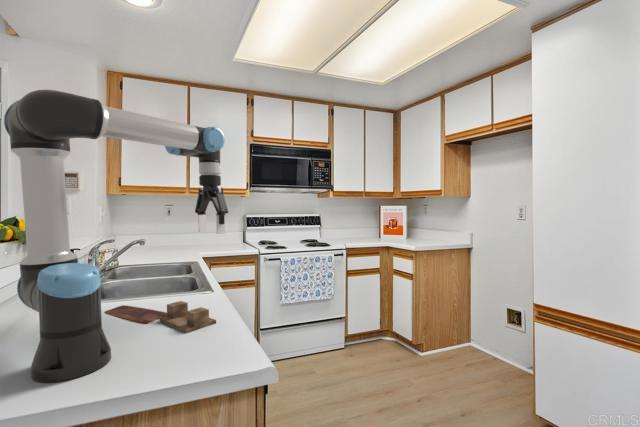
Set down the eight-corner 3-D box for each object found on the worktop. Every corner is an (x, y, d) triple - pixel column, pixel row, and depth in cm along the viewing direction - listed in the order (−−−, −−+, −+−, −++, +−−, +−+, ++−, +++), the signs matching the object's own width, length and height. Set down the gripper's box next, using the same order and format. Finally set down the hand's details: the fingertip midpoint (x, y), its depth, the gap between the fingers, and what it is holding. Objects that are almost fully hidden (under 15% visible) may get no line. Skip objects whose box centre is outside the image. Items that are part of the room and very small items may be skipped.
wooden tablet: (98, 309, 119) (126, 299, 128) (99, 315, 119) (127, 304, 128) (144, 322, 106) (172, 309, 115) (145, 329, 106) (173, 315, 115)
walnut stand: (186, 333, 99) (186, 316, 99) (159, 321, 109) (159, 306, 108) (216, 323, 107) (215, 307, 106) (188, 313, 116) (187, 299, 116)
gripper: (237, 173, 118) (238, 233, 119) (203, 177, 136) (204, 230, 136) (217, 171, 113) (219, 235, 113) (185, 176, 130) (186, 231, 131)
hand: (211, 232), depth 125 cm, fingers open, 13 cm apart
